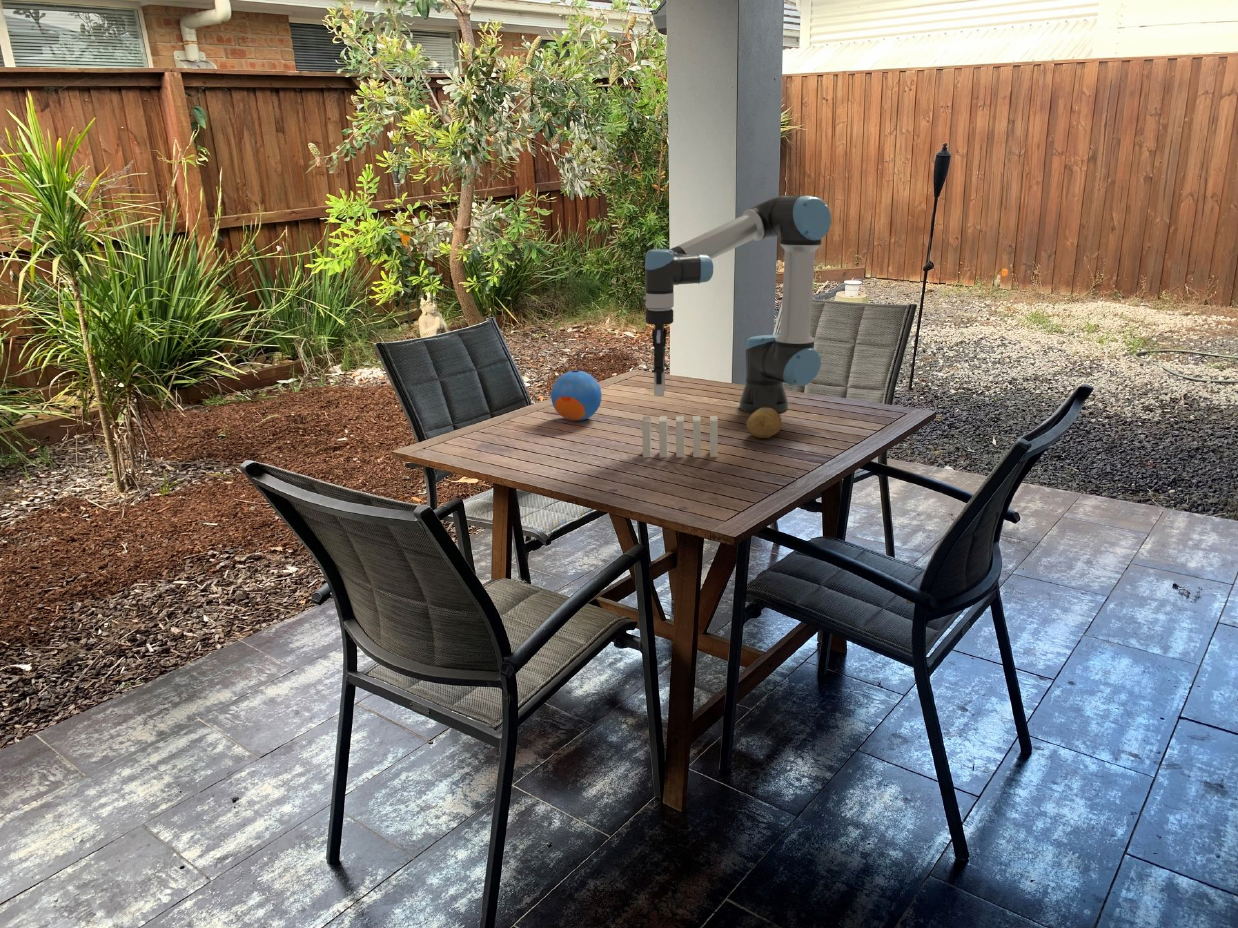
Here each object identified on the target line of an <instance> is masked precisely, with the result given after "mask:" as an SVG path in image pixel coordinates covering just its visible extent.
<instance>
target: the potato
mask: <svg viewBox="0 0 1238 928" xmlns="http://www.w3.org/2000/svg"><path fill="white" fill-rule="evenodd" d="M745 424H746V428H747V430H748V432H749V433H750V434H751V435H753V437H757V438H759V439H770V438H771V437H773V436H775V435H776V434H778V433H779V431H780V429H781V427H782V416H780V413H777V412H776V411H775V410H774V409H772V408H765V407H763V408H760V409H758V410H756V411H755V412H754V413H751V415H750V416H749V417H748V418H747V421H746V423H745Z"/></svg>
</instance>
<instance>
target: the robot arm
mask: <svg viewBox="0 0 1238 928" xmlns="http://www.w3.org/2000/svg"><path fill="white" fill-rule="evenodd" d="M831 225H832V214H831V211H830V208H829V206H828V204H826V202H825V201H824V200H823V199H822V198H819V197H816V196H811V195H779V196H775V197H771V198H770V199H767V200H765V201H763V202H761V203H757V204H756V205H753V206H752V207H750V208H748V209H745V210H744V211H743V213H742V215H741V216H739V217H736V218H734V219H732V220H730V221H727V222H726V223H723V224H721V225H719V226H717V227H715V228H713V229H711V230H708V231H707V232H704V233H702V234H700V235H698V236H695V237H694V238H692V239H690V240H687V241H685V242H682V243H681V244H678V245H677V246H674V247H672V248H670V249H667V248H665V249H663V248H660V249H656V248H655V249H650V250H647V252H645V259H644V269H645V270H644V276H645V278H644V279H645V284H644V285H645V295H643V297H642V298H643V299H642V300H645V307H646V308H647V309H646V310H645V322H646V324H648V325H650V326H651V325H654V328H652V330H651V337H652V347H653V369H652V370H651V373H653V396H654V397H655V396H656V397H664V396H665V391H666V368H667V367H668V363H666V345H667V335H668V329H666V328H665V325H666V326H667V325H672V324H673V323H674V310H673V309H672V308H673V307H674V306H675V305H674V302H675V301H674V298H675V297H674V295H675V292H674V286H678V285H690V284H699V285H700V284H701V283H708V282H709V281H710V280H711V279H712V278H713V275H714V263H713V259H715V258H717V257H719V256H721V255H723V254H725V253H727V252H730V251H732V250H733V249H735V248H738V247H740V246H743V245H744V244H747V243H748V242H751V241H755V242H759V241H761V240H763V239H765V238H771V237H780V240H779V245H780V247H781V248H782V249H783V250H784V262H783V263H784V265H783V281H782V296H781V297H782V298H781V315H780V317H781V318H780V333H779V334H765V335H764V334H763V335H756V336H755V335H754V336H751V337H749V338H747V340H746V343H745V385H744V387H743V390H742V393H741V395H740V396H741V397H740V399H739V408H740V410H741V411H743V412H746V413H749V414H750V413H751V414H753V413H754V412H755V411H756V410H758V409H760V408H763V407H765V408H772V409H774V410H775V411H776V412H777V413H778V414H780V413H782V412H786V411H787V410H788V409H789V401H788V396H787V394H786V390H785V387H784V384H787V385H789V386H796V387H803V386H804V387H805V386H807V385H809V384H810V383H811V382H813V381H814V379H816V378H817V376H818V375H819V373H820V370H821V367H822V357H821V355H820V354H819V352H818V351H817V350H816V349H815V339H814V337H813V336H812V335H811V334H810V333H811V332H810V331H811V321H812V318H811V317H812V308H813V307H812V305H813V303H812V302H813V289H814V288H813V287H814V277H815V274H814V273H815V261H816V252H817V250H818V249H819V248H820V247H821V246H822V240H823V238H824V237H826V236H827V234H828V232H830V229H831ZM663 366H664V368H663Z"/></svg>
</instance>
